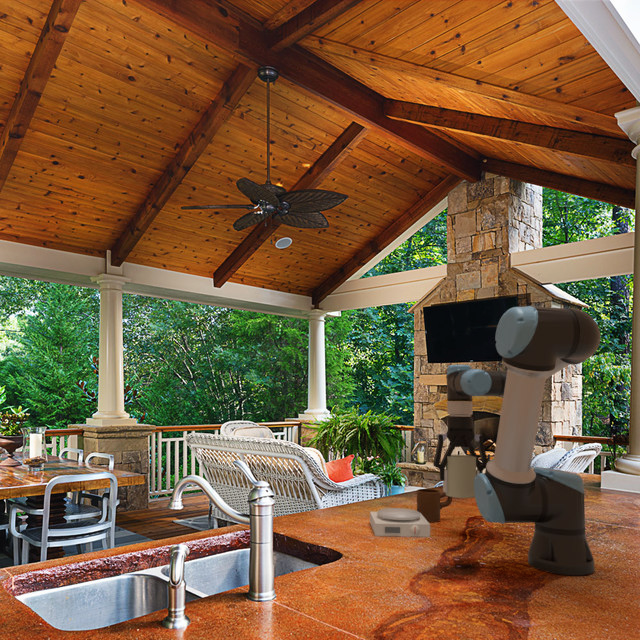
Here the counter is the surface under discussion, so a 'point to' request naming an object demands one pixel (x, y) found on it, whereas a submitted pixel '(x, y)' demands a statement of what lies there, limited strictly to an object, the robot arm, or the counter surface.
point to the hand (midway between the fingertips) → (461, 492)
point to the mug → (431, 503)
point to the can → (461, 476)
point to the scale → (399, 523)
